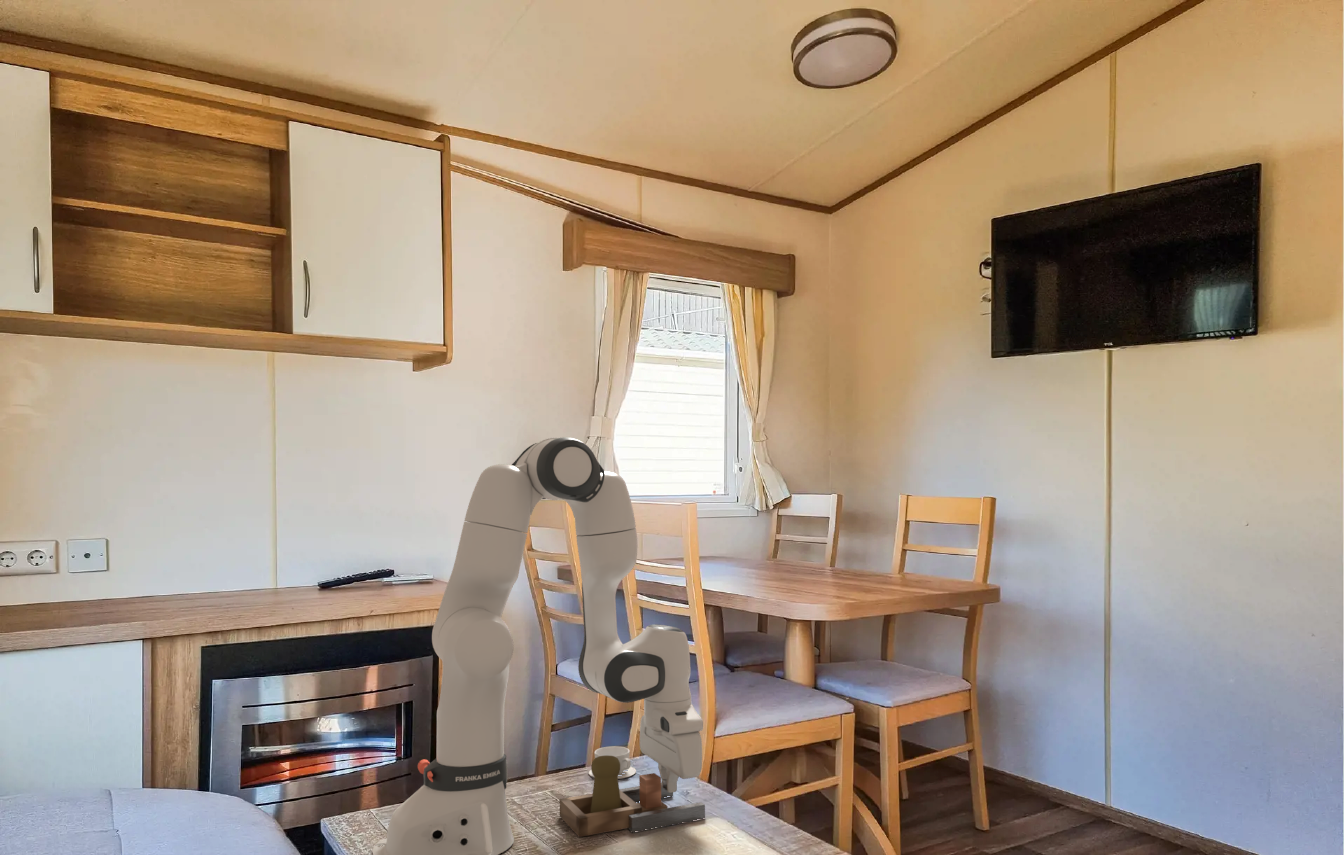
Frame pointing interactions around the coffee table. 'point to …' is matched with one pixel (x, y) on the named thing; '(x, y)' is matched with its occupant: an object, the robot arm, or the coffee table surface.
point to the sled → (588, 823)
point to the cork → (605, 784)
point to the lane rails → (662, 812)
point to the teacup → (622, 756)
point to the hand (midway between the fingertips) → (669, 790)
